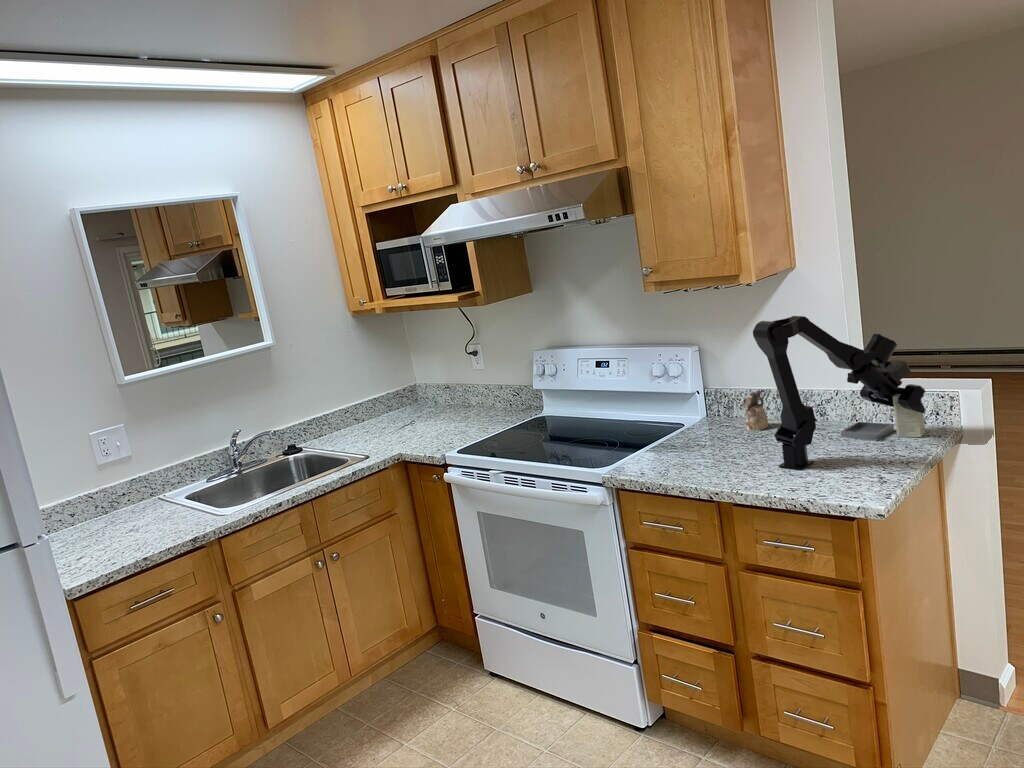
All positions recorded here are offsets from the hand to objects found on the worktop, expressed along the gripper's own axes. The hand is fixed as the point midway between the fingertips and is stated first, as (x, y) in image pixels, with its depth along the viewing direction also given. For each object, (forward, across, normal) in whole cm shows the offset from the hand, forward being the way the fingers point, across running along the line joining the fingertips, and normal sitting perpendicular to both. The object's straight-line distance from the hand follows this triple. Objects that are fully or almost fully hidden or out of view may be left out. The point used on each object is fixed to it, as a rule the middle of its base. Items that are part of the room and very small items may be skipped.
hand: (910, 409), depth 209 cm
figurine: (-12, +39, +22) cm, 46 cm away
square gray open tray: (0, +9, +10) cm, 14 cm away
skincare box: (+5, 0, +6) cm, 8 cm away
